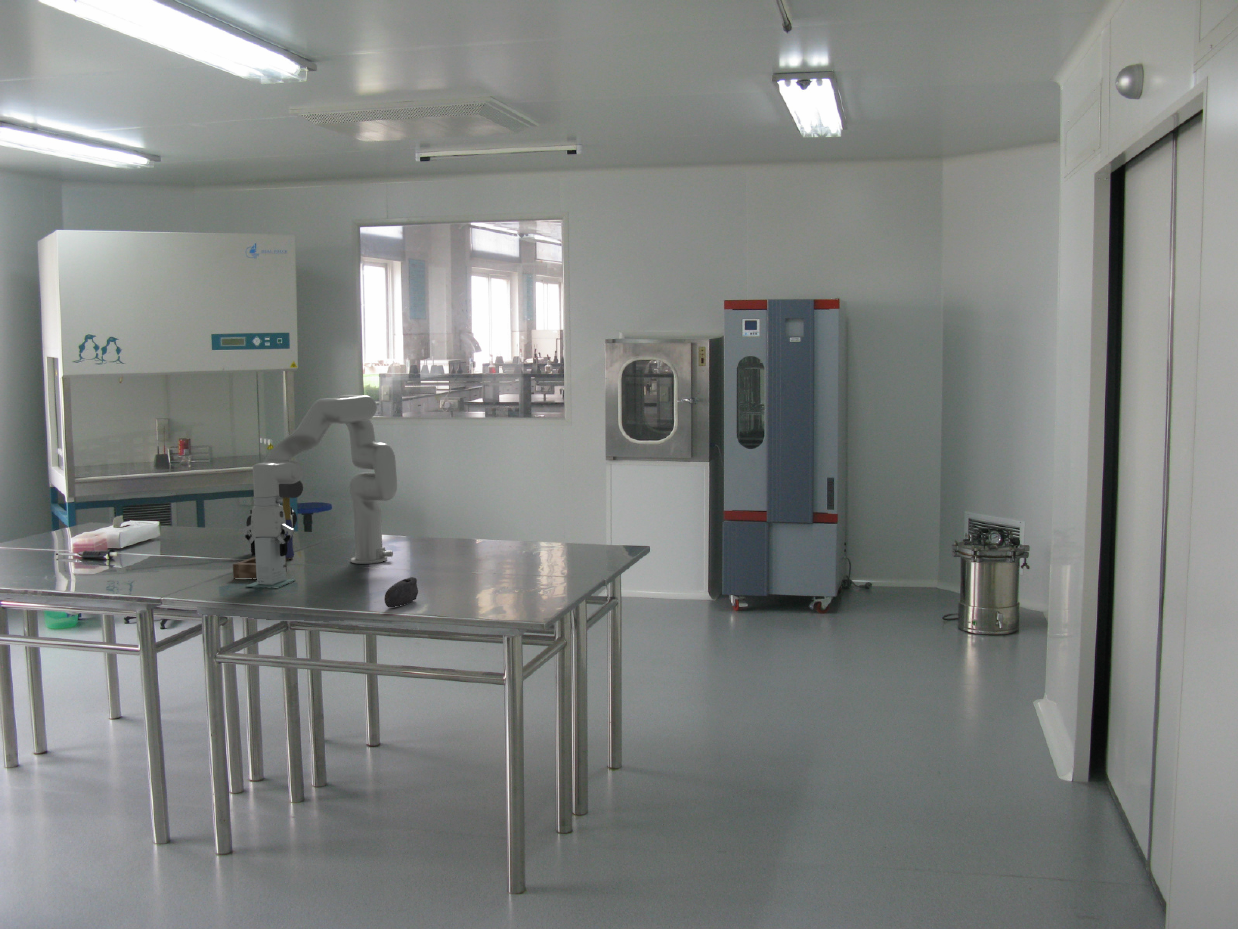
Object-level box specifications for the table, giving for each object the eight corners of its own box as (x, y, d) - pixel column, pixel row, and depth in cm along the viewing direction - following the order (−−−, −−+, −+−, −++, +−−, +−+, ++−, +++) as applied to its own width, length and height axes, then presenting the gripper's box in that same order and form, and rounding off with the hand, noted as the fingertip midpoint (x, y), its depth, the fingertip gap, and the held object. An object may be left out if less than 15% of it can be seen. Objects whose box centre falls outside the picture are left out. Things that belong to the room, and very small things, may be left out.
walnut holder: (286, 571, 337) (286, 557, 336) (265, 580, 324) (265, 564, 323) (255, 571, 339) (254, 556, 338) (233, 579, 326) (232, 564, 325)
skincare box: (272, 585, 312) (270, 538, 311) (255, 584, 313) (253, 538, 312) (287, 580, 320) (285, 534, 319) (270, 579, 322) (268, 534, 320)
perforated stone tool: (393, 611, 278) (392, 587, 277) (377, 610, 280) (376, 586, 279) (423, 600, 292) (422, 577, 291) (408, 599, 294) (407, 575, 293)
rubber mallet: (308, 559, 359) (304, 476, 356) (290, 562, 353) (286, 478, 350) (286, 556, 366) (283, 475, 363) (269, 559, 360) (265, 477, 357)
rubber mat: (295, 581, 321) (295, 579, 321) (278, 588, 310) (277, 586, 310) (264, 580, 323) (263, 578, 323) (245, 587, 312) (245, 585, 312)
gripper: (298, 500, 316) (300, 553, 318) (248, 500, 319) (250, 552, 321) (286, 503, 309) (288, 558, 311) (235, 503, 312) (238, 557, 314)
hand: (269, 555), depth 316 cm, fingers open, 9 cm apart
